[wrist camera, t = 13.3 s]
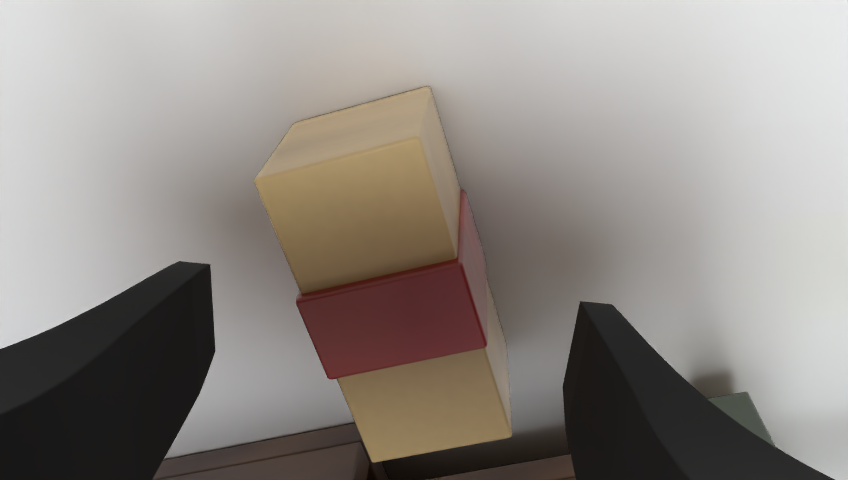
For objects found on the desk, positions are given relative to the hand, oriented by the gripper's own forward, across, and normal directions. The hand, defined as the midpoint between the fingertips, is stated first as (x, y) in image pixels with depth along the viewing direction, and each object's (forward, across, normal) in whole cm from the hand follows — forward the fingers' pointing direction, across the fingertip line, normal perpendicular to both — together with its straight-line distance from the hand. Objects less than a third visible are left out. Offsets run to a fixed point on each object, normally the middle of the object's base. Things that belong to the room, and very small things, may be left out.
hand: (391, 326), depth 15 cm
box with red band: (+4, 0, 0) cm, 4 cm away
